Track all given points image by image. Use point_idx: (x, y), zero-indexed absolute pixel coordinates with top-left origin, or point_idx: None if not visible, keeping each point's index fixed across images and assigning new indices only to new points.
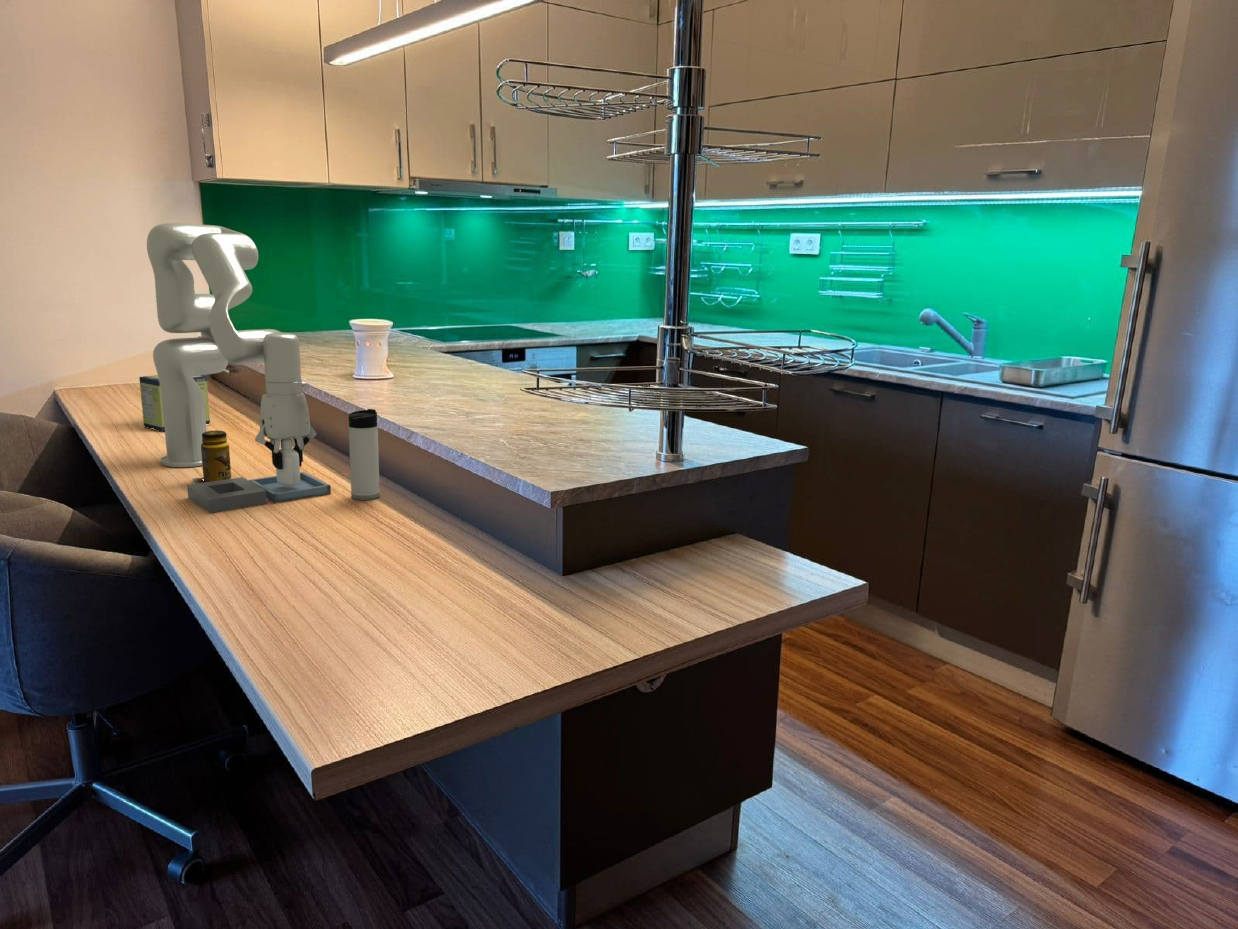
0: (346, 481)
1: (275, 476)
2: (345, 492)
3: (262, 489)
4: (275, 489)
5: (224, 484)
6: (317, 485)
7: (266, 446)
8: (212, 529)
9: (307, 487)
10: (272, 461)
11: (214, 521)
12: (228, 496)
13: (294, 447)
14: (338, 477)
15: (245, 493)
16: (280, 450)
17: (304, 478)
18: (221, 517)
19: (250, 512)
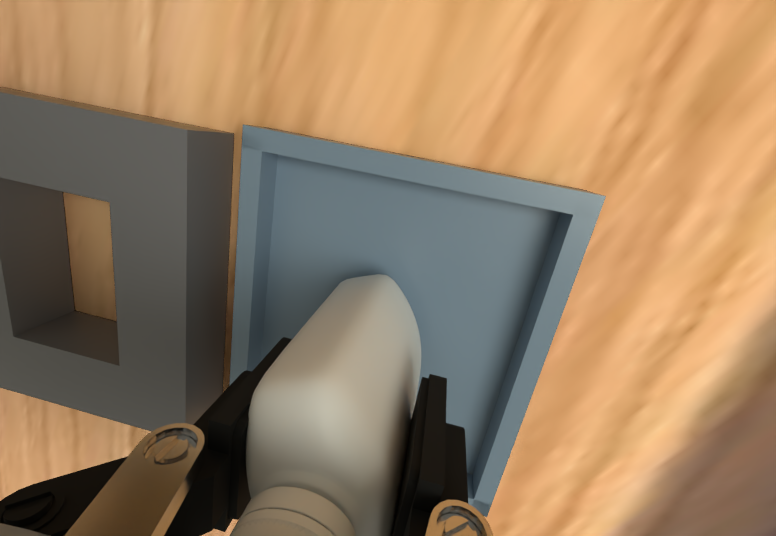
0: (711, 389)
1: (400, 170)
2: (542, 507)
3: (180, 416)
4: (326, 293)
5: (71, 190)
6: (498, 404)
7: (72, 488)
8: (13, 473)
9: (455, 375)
10: (237, 381)
11: (29, 423)
12: (37, 396)
13: (409, 520)
14: (766, 293)
15: (103, 411)
16: (250, 487)
17: (550, 251)
18: (54, 407)
19: (142, 433)
